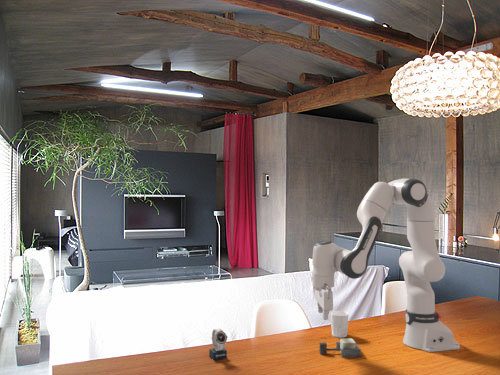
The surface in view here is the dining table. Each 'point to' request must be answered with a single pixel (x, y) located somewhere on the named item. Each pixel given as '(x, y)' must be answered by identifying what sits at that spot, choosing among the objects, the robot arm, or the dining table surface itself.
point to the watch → (218, 345)
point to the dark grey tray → (349, 351)
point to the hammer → (343, 345)
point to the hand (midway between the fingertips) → (322, 315)
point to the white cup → (339, 323)
